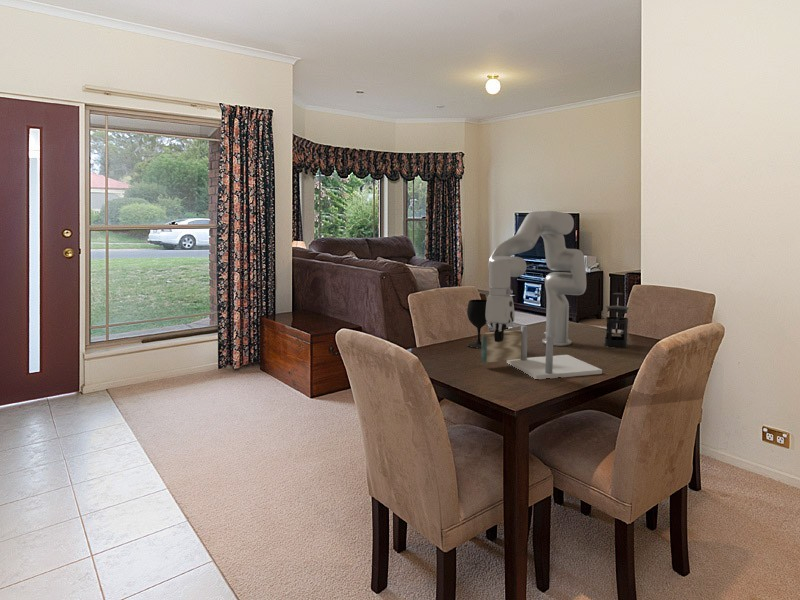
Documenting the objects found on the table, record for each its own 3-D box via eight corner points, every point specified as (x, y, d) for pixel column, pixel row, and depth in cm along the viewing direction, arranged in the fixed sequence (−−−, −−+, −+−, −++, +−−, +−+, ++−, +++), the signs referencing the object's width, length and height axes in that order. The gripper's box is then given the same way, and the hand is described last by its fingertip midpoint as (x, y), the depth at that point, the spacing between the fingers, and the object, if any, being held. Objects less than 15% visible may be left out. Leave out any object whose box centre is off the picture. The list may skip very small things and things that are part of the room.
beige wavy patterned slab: (518, 358, 212) (519, 330, 210) (521, 359, 210) (521, 330, 209) (481, 361, 207) (481, 333, 206) (483, 363, 206) (483, 334, 204)
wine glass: (464, 347, 239) (464, 302, 236) (470, 342, 249) (470, 298, 246) (487, 349, 235) (488, 303, 232) (493, 344, 245) (493, 299, 242)
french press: (617, 349, 232) (619, 295, 229) (598, 345, 240) (600, 292, 237) (634, 345, 239) (637, 293, 235) (615, 341, 246) (618, 290, 243)
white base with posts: (506, 363, 212) (507, 326, 210) (567, 358, 219) (568, 322, 217) (535, 379, 190) (536, 338, 188) (601, 373, 197) (603, 333, 194)
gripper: (523, 292, 199) (522, 342, 201) (488, 289, 209) (487, 336, 212) (511, 294, 193) (510, 346, 196) (476, 291, 204) (476, 340, 206)
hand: (498, 341), depth 204 cm, fingers closed
